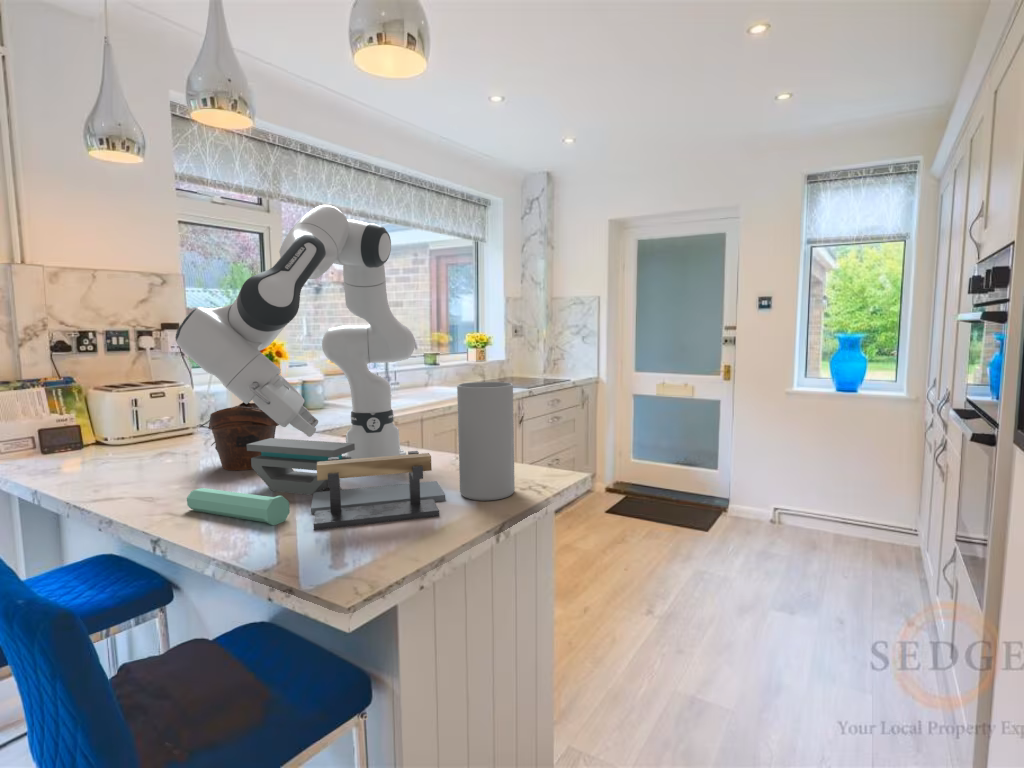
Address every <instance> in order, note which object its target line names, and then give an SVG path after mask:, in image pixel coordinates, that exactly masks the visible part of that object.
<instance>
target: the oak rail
mask: <svg viewBox="0 0 1024 768" xmlns="http://www.w3.org/2000/svg"><path fill="white" fill-rule="evenodd" d="M420 465H422V466H423V472H431V471H432V455H431V453H430V452H424V453H419V454H410V455H408V454H406V455H397V456H384V457H371V458H359V459H346V460H333V461H320V462H317V471H316V473H317V481H318V480H328V473H337V472H339V479H340V480H341V479H349V478H361V477H362V478H363V477H372V476H383V475H395V474H396V475H397V474H409V472H412V466H420Z"/></svg>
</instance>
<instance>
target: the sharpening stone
mask: <svg viewBox="0 0 1024 768" xmlns="http://www.w3.org/2000/svg"><path fill="white" fill-rule="evenodd" d="M246 445H247V451H258V452H261V455H260V456H257V457H253V458H251V466H252V468H253V470H254V472H255V473H256V474H257V475H258V477H259V478H260V480H262V481H263V483H264V484H265V485H266V487H268V488H269V490H270V491H271V492H278V493H288V494H290V493H291V494H299V495H306V496H307V495H308V496H313V494H314V492H323V490H324V491H325V490H326V489H330V488H329V487H328V480H318V481H317V462H320V461H328V458H330V457H339V460H346V459H351V457H346V456H342V455H343V454H344V453H347V452H350V451H353V450H355V444H354V443H346V442H336V441H321V440H320V441H319V440H309V439H307V440H306V439H305V440H304V439H293V438H291V439H290V438H269V439H265V440H261V441H257V442H254V443H250V444H246ZM294 469H295V470H294ZM296 470H304V471H296ZM307 470H308V472H307ZM309 471H316V472H309Z"/></svg>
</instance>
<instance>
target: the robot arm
mask: <svg viewBox="0 0 1024 768" xmlns="http://www.w3.org/2000/svg"><path fill="white" fill-rule="evenodd" d="M391 250H392V241H391V236H390V234H389V232H388V231H387V229H386V228H385V227H384V226H382V225H379V224H376V223H374V222H372V223H371V222H370V223H368V222H364V221H360V220H356V219H348V218H347V216H346V215H345V214H344V213H343V212H342V211H341V210H340V209H339V208H337V207H335V206H332V205H329V204H322V205H318V206H315V208H313V209H311V210H310V211H308V212H307V213H306V214H305V215H304V216H302V217H301V218H300V219H299V220H298V221H297V222H296V223H295V224H294V225H293V226H292V228H291V229H290V230H289V232H288V233H287V234H286V235H285V237H284V239H283V242H281V245H280V248H279V251H278V252H279V257H280V258H279V259H278V260H277V261H276V262H275V264H274V265H273V266H272V267H271V268H268V269H267V270H264V271H261V272H258V273H257V274H255V275H252V276H250V277H249V278H248V279H246V280H245V281H244V282H243V284H242V285H241V288H240V291H239V292H238V294H237V297H236V299H234V302H233V303H231V304H228V305H225V306H220V307H214V308H213V307H210V308H206V307H202V306H198V307H196V308H195V309H193V310H192V311H190V312H189V313H188V314H187V316H186V317H185V318H184V319H183V320H182V322H181V324H180V325H179V327H178V328H177V330H176V333H175V337H174V338H175V342H176V344H177V346H178V347H179V348H180V349H181V350H182V351H183V352H184V353H185V355H186V356H188V357H189V359H190V360H192V362H194V363H195V364H196V365H197V366H198V367H200V368H201V370H203V371H205V372H206V373H208V374H211V375H212V376H214V377H216V378H217V379H218V381H220V382H221V384H222V385H223V387H224V388H225V389H227V390H228V391H230V392H231V394H232V395H234V396H235V397H237V398H238V399H239V400H241V402H242V403H243V402H244V403H245V404H248V403H251V401H252V403H255V404H256V405H257V406H258V407H259V408H260V409H261V410H262V411H264V412H265V413H266V414H267V415H268V416H269V417H270V418H272V419H273V420H274V421H275V422H276V423H277V424H279V425H278V426H279V427H280V426H281V427H283V428H286V427H288V425H289V424H290V425H291V426H292V427H293V428H295V429H297V430H299V431H301V432H302V433H303V434H305V435H306V436H307V437H309V438H310V437H313V435H314V434H315V433H316V432H317V428H316V426H317V425H318V424H319V420H318V418H316V417H315V416H314V415H313V414H312V413H311V411H309V410H308V408H306V407H305V406H304V403H305V399H304V397H303V396H302V394H300V393H299V391H298V390H296V389H295V387H293V385H291V383H290V382H288V380H287V379H286V378H284V377H283V376H282V375H281V373H282V372H281V371H282V369H281V368H280V367H278V366H277V365H276V364H275V363H274V362H273V361H272V360H270V359H269V358H268V357H267V356H266V355H265V354H263V353H262V352H261V351H263V350H264V349H266V348H268V347H269V346H271V344H273V342H274V341H275V340H276V338H277V337H278V336H279V335H280V334H281V333H282V331H283V330H284V328H285V327H286V326H287V325H288V324H289V323H291V322H292V320H294V319H295V317H296V316H297V314H298V311H299V308H300V303H301V293H302V289H303V288H304V286H305V285H306V283H307V282H308V280H315V279H319V278H320V277H322V276H323V275H324V274H325V273H326V272H327V271H328V270H329V269H330V268H331V267H332V266H333V264H335V265H341V266H342V272H343V273H342V276H343V286H344V287H343V288H344V298H345V299H344V301H345V306H346V308H347V309H348V311H350V313H351V314H353V315H354V316H356V317H358V318H360V319H362V320H364V321H366V322H367V323H368V324H346V325H345V324H344V325H340V326H339V325H338V326H334V327H331V328H328V329H327V330H326V332H325V333H324V335H323V338H322V340H321V341H322V342H321V347H322V352H323V354H324V355H325V357H326V358H327V359H328V360H329V361H330V362H331V363H333V364H334V365H335V366H337V367H338V368H339V369H340V370H341V371H342V372H343V374H344V375H345V378H346V379H347V382H348V385H349V390H350V396H351V397H350V399H351V406H352V407H351V408H352V411H351V412H350V423H351V427H349V429H348V431H346V434H345V443H354V444H355V450H353V451H350V452H347V453H344V454H342V456H346V457H351V459H359V458H371V457H384V456H397V455H407V452H406V451H405V450H403V449H402V448H401V443H400V429H399V428H398V427H397V425H395V424H394V409H392V395H391V393H392V392H391V391H392V389H391V384H390V382H389V381H388V380H387V379H386V378H384V377H383V376H382V375H381V376H380V375H378V374H376V373H374V372H372V371H371V370H370V369H369V367H368V364H373V363H374V364H378V363H379V364H382V363H395V362H401V361H405V360H408V359H409V358H410V357H411V356H412V355H413V353H414V351H415V348H416V347H415V346H416V340H415V336H414V334H413V332H412V331H411V329H409V327H407V326H405V325H404V324H403V323H401V322H400V321H399V320H398V319H397V318H396V317H395V316H394V313H393V312H392V310H391V308H390V306H389V300H388V293H387V283H386V281H387V279H386V278H387V277H386V269H385V264H386V263H387V261H388V260H389V258H390V254H391Z"/></svg>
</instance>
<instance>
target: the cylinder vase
mask: <svg viewBox="0 0 1024 768" xmlns="http://www.w3.org/2000/svg"><path fill="white" fill-rule="evenodd" d="M456 390H457V391H456V393H457V395H456V397H457V430H458V431H457V433H458V434H457V435H458V469H459V493H460V495H461V496H463V497H464V498H466V499H469V500H471V501H472V500H473V501H485V502H486V501H488V502H489V501H498V500H502V499H505V498H509V497H510V496H512V495H513V493H514V492H515V491H516V490H515V487H516V486H515V434H514V433H515V428H514V426H515V424H514V422H515V421H514V384H513V383H510V382H504V381H503V382H502V381H479V382H478V381H477V382H476V381H475V382H465V383H464V382H463V383H459V384H457V385H456Z"/></svg>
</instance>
